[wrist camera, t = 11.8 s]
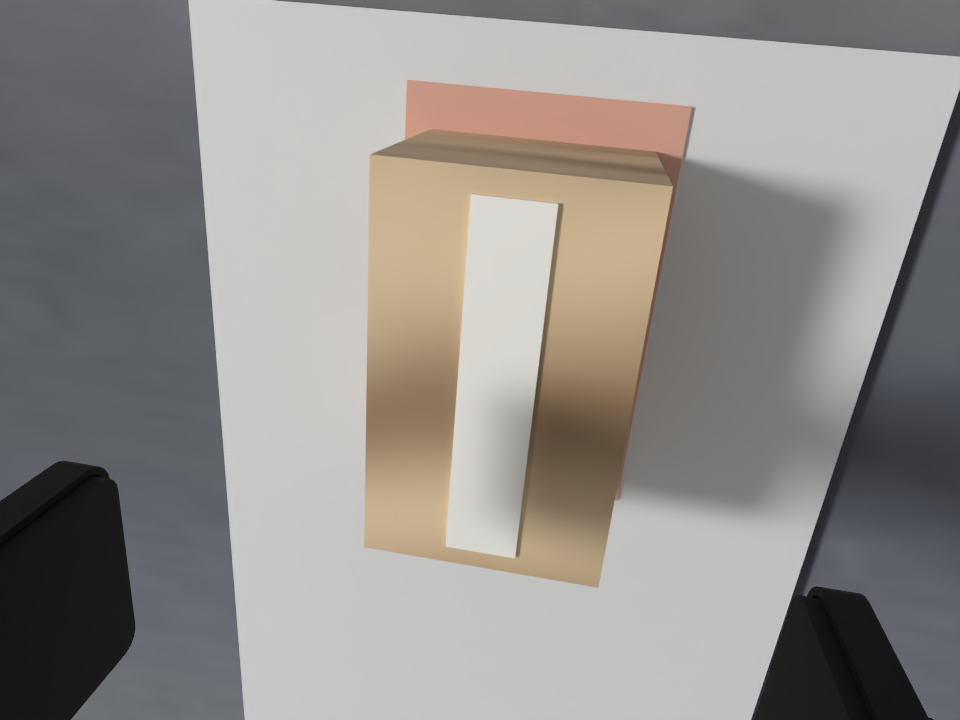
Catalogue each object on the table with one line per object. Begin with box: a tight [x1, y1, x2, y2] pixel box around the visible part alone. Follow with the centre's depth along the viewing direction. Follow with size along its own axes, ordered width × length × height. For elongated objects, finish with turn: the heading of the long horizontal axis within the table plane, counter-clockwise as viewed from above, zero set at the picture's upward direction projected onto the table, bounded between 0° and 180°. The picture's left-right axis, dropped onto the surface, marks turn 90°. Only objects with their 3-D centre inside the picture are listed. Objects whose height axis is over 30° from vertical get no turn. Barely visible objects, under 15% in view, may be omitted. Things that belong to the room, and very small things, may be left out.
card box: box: [364, 129, 673, 588], centre depth 17 cm, size 9×6×5 cm, turn 175°
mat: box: [189, 0, 960, 720], centre depth 22 cm, size 26×18×1 cm
